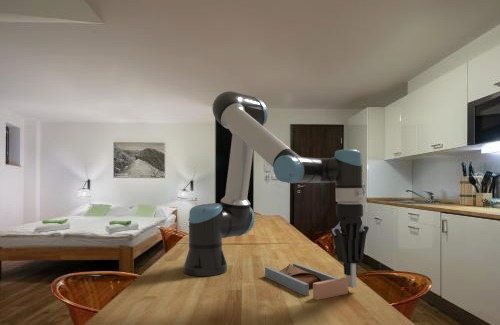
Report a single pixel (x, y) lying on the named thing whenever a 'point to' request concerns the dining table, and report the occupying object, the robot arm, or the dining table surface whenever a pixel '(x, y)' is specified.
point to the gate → (330, 288)
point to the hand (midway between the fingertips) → (351, 286)
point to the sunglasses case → (301, 275)
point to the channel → (295, 283)
